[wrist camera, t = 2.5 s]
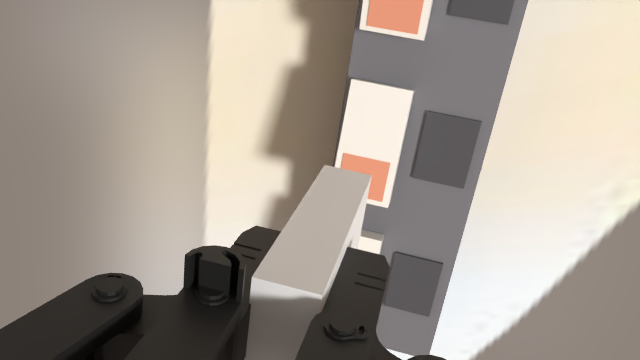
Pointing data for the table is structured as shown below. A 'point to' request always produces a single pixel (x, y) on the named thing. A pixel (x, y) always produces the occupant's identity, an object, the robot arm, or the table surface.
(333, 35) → the table surface
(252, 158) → the table surface
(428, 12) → the block
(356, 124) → the block
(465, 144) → the strip
